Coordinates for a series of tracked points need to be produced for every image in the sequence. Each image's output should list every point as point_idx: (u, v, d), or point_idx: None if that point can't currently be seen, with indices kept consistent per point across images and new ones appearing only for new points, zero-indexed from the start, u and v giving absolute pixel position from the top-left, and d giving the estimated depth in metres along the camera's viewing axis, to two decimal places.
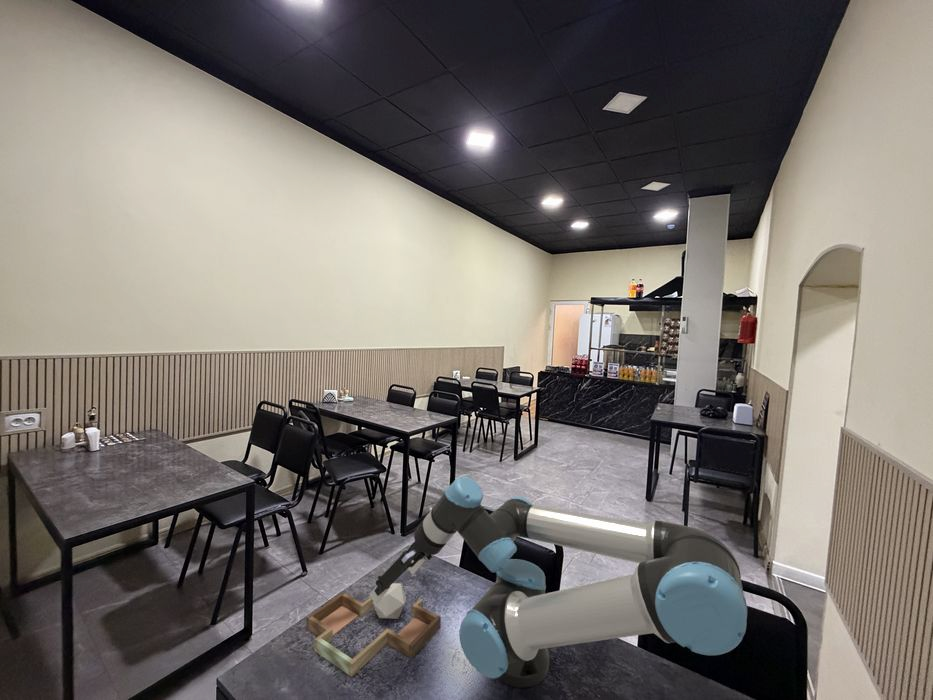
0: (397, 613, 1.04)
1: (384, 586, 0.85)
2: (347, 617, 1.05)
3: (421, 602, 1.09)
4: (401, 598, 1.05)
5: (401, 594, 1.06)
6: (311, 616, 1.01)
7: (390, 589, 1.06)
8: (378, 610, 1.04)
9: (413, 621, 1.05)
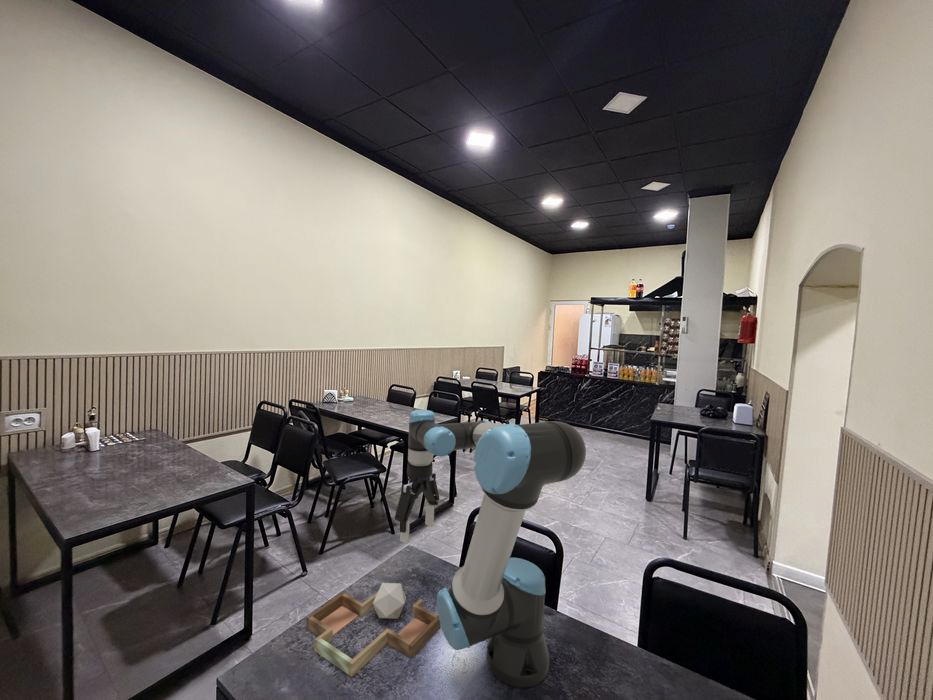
0: (397, 613, 1.04)
1: (401, 516, 1.08)
2: (347, 617, 1.05)
3: (421, 602, 1.09)
4: (401, 598, 1.05)
5: (401, 594, 1.06)
6: (311, 616, 1.01)
7: (390, 589, 1.06)
8: (378, 610, 1.04)
9: (413, 621, 1.05)
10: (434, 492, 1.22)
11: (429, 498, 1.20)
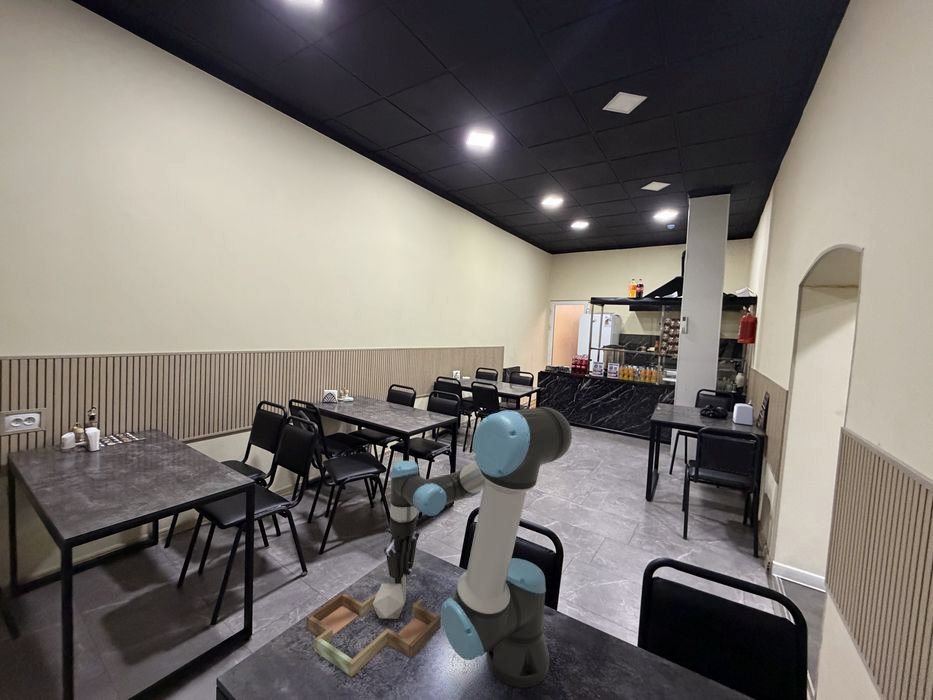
0: (397, 613, 1.04)
1: (394, 575, 1.07)
2: (347, 617, 1.05)
3: (421, 602, 1.09)
4: (401, 599, 1.05)
5: (401, 595, 1.06)
6: (311, 616, 1.01)
7: (390, 590, 1.05)
8: (378, 611, 1.04)
9: (413, 621, 1.05)
10: (410, 556, 1.13)
11: (404, 562, 1.11)
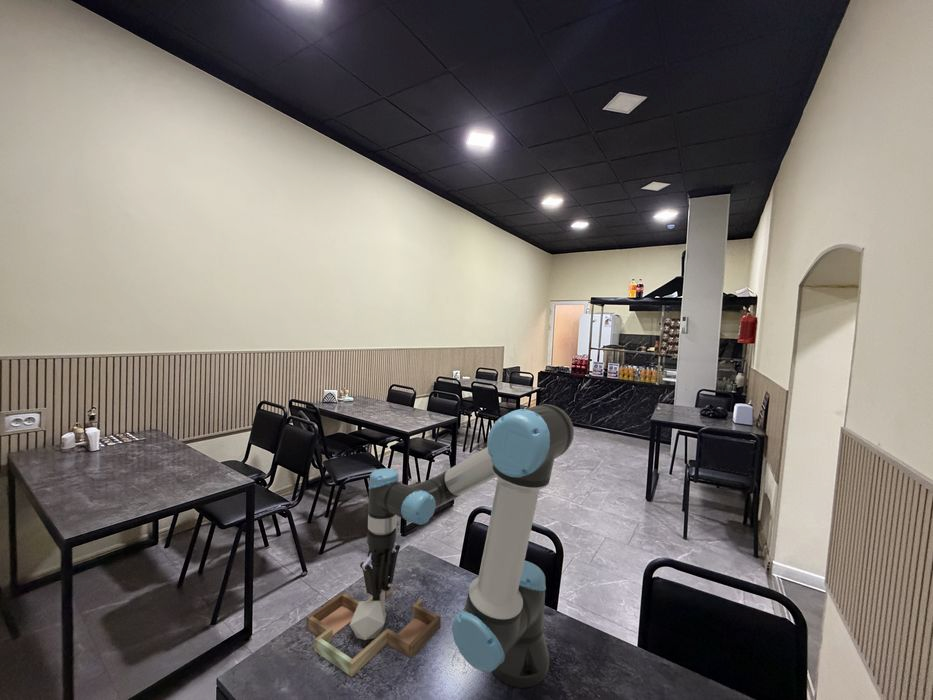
0: (377, 633, 0.97)
1: (371, 592, 1.00)
2: (347, 617, 1.05)
3: (421, 602, 1.09)
4: (381, 618, 0.98)
5: (380, 613, 0.98)
6: (311, 616, 1.01)
7: (368, 609, 0.98)
8: (356, 632, 0.96)
9: (413, 621, 1.05)
10: (390, 570, 1.06)
11: (383, 577, 1.04)
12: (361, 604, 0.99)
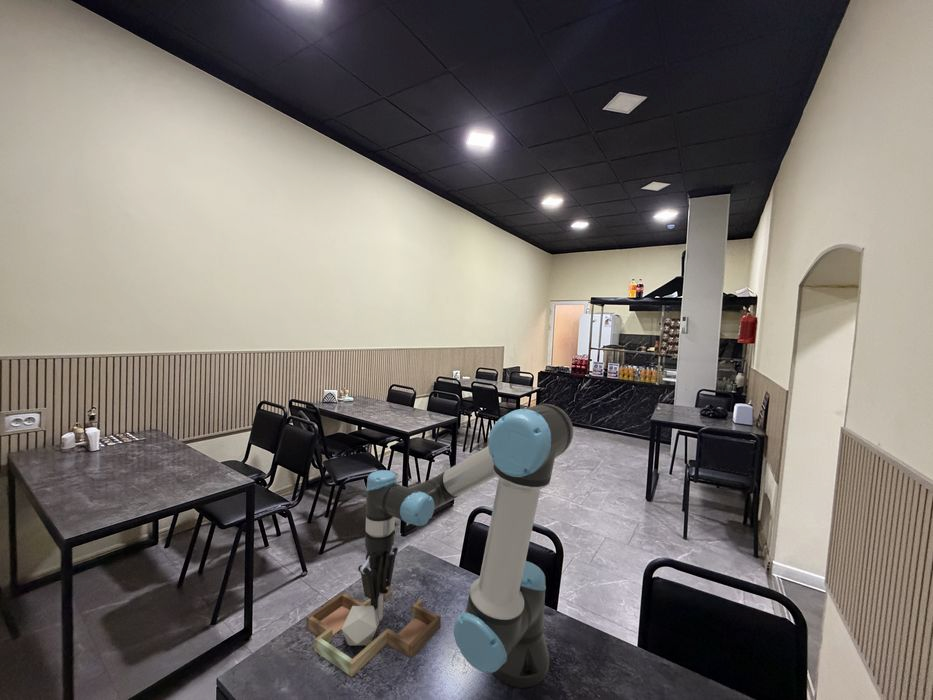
0: (369, 639, 0.95)
1: (370, 595, 0.99)
2: None
3: (421, 602, 1.09)
4: (373, 622, 0.96)
5: (373, 618, 0.97)
6: (311, 616, 1.01)
7: (361, 613, 0.96)
8: (347, 637, 0.94)
9: (413, 621, 1.05)
10: (388, 573, 1.05)
11: (381, 580, 1.03)
12: (354, 608, 0.98)
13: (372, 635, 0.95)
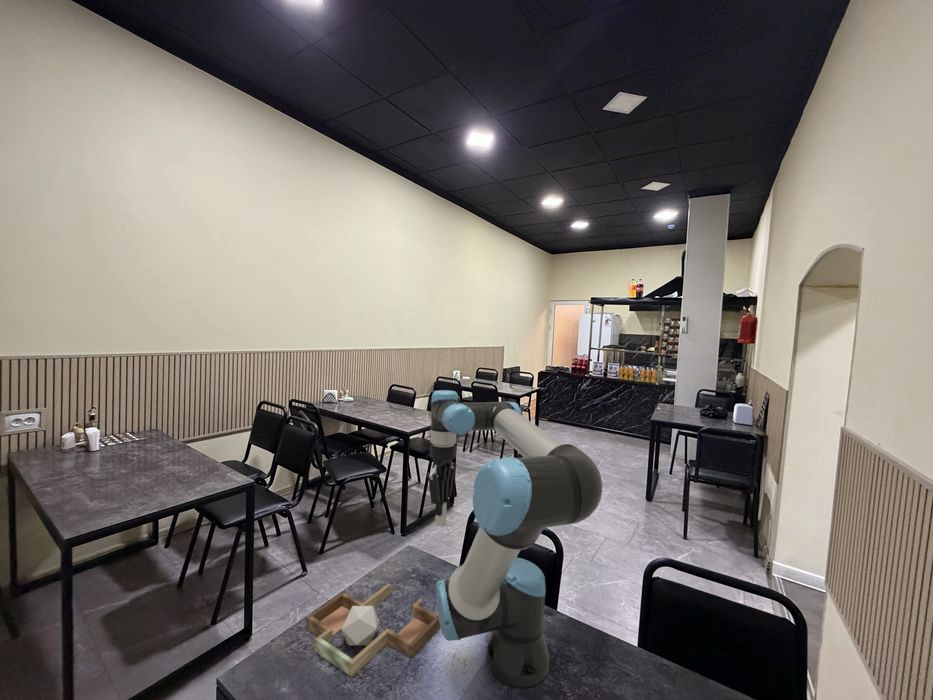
0: (369, 639, 0.95)
1: (436, 500, 1.08)
2: None
3: (421, 602, 1.09)
4: (373, 622, 0.96)
5: (373, 618, 0.97)
6: (311, 616, 1.01)
7: (361, 613, 0.96)
8: (347, 637, 0.94)
9: (413, 621, 1.05)
10: (449, 485, 1.14)
11: (444, 490, 1.12)
12: (354, 608, 0.98)
13: (372, 635, 0.95)
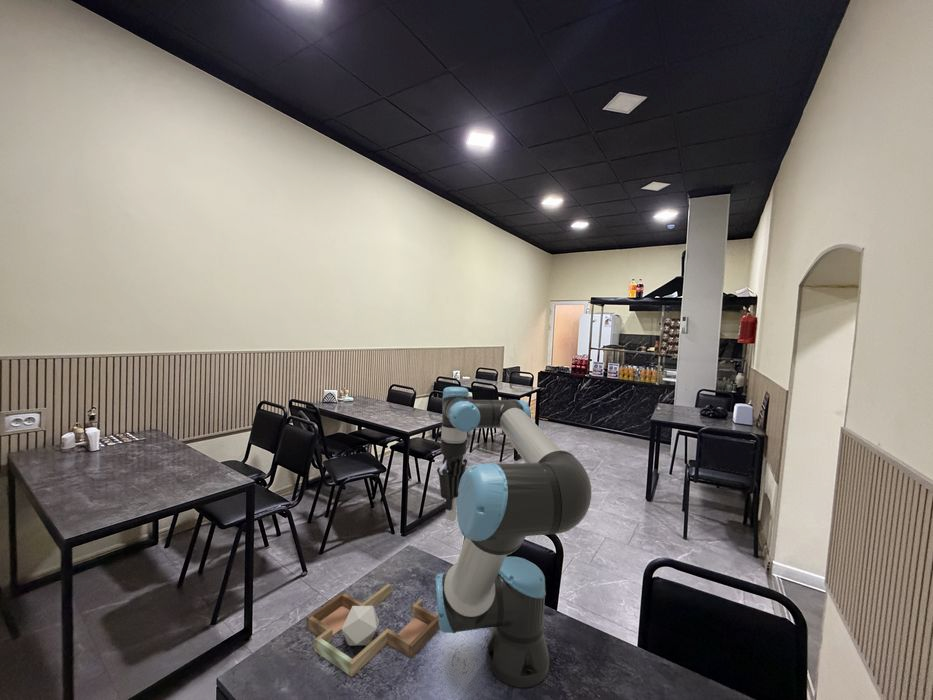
0: (369, 639, 0.95)
1: (446, 495, 1.09)
2: None
3: (421, 602, 1.09)
4: (373, 622, 0.96)
5: (373, 618, 0.97)
6: (311, 616, 1.01)
7: (361, 613, 0.96)
8: (347, 637, 0.94)
9: (413, 621, 1.05)
10: (459, 480, 1.15)
11: (454, 485, 1.13)
12: (354, 608, 0.98)
13: (372, 635, 0.95)
